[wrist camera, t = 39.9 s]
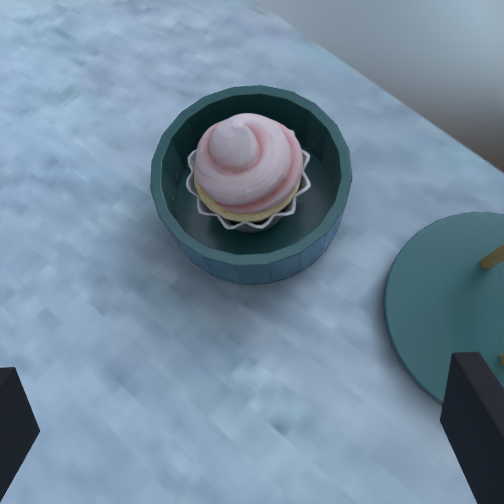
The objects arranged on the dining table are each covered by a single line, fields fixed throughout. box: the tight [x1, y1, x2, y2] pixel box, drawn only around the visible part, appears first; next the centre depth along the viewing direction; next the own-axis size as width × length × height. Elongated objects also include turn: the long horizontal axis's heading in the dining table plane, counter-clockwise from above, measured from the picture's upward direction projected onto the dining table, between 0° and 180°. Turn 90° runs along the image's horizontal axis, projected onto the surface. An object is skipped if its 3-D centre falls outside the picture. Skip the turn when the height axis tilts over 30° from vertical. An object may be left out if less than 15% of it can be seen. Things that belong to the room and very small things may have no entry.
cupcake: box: [186, 113, 311, 233], centre depth 32 cm, size 9×9×10 cm
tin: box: [150, 85, 352, 285], centre depth 34 cm, size 15×15×6 cm
